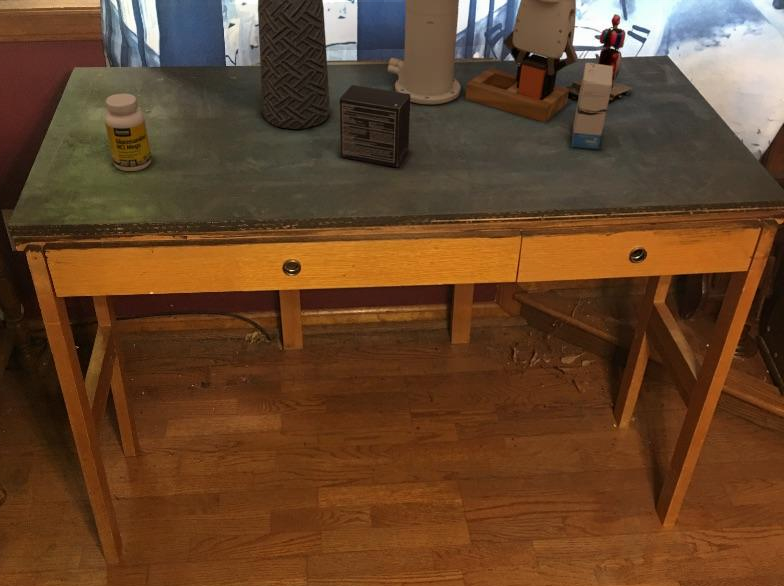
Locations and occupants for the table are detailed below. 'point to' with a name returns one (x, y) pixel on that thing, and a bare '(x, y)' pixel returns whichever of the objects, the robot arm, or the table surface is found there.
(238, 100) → the table surface
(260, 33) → the vase
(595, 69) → the ink box
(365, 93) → the small box
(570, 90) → the statue
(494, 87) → the wooden compartment tray
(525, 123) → the table surface
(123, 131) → the pill bottle
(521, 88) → the orange block
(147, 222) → the table surface
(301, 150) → the table surface
